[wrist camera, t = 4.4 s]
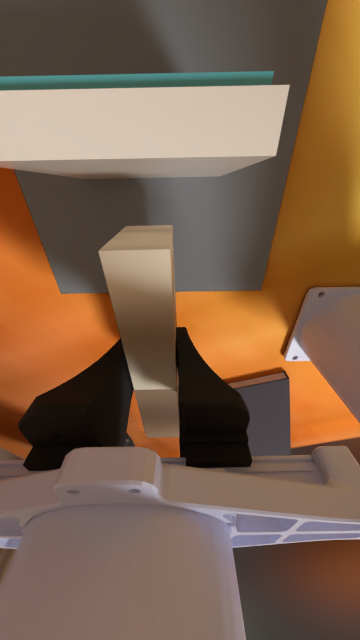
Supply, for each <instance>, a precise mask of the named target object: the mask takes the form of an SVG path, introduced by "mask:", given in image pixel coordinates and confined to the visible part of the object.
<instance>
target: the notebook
mask: <svg viewBox="0 0 360 640" xmlns="http://www.w3.org/2000/svg"><path fill="white" fill-rule="evenodd" d="M228 385H229V386H231V387H232V388H233V389H235V390H236V391H238V392H239V393H240V395H241V396H242V398H243V400H244V402H245V404H246V406H247V408H248V411H249V415H250V422H249V425H248V428H247V431H246V432H247V436H248V440H249V441H248V446H249V450H250V453H251V456H291V449H290V393H289V377H288V375H287V374H286V372H285V371H284V372H283V373H278V374H273V375H268V376H263V377H259V378H254V379H249V380H244V381H239V382H234V383H230V384H228Z"/></svg>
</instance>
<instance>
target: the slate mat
mask: <svg viewBox="0 0 360 640" xmlns="http://www.w3.org/2000/svg"><path fill="white" fill-rule="evenodd" d="M326 4H327V0H0V77H8V76H57V75H107V74H156V73H205V72H254V71H274V73H273V80H272V85H290V86H289V92H288V97H287V102H286V107H285V112H284V117H283V122H282V128H281V133H280V138H279V143H278V148H277V153H276V156H274V157H271V158H269V159H266V160H263V161H261V162H258V163H255V164H252V165H250V166H247V167H244V168H241V169H239V170H236V171H233V172H231V173H228V174H225V175H222V176H216V177H163V178H110V179H82V178H74V177H67V176H60V175H52V174H45V173H38V172H30V171H23V170H16V169H14V171H15V174H16V177H17V179H18V182H19V184H20V187H21V190H22V192H23V195H24V198H25V200H26V203H27V205H28V208H29V211H30V213H31V216H32V219H33V221H34V224H35V226H36V229H37V232H38V234H39V237H40V240H41V242H42V245H43V247H44V250H45V253H46V255H47V258H48V261H49V263H50V266H51V268H52V271H53V274H54V276H55V279H56V282H57V284H58V287H59V289H60V292H61V294H66V293H109V291H108V287H107V283H106V279H105V275H104V271H103V267H102V263H101V260H100V256H99V252H98V251H99V250H100V249H101V248H102V247H103V246H104V245H105V244H107V243H108V242H109V241H110V240H111V239H112V238H113V237H114V236H116V235H117V234H118V233H119V232H120V231H121V230H122V229H123V228H125V227H126V226H151V225H173V245H174V271H175V292H182V291H239V290H261V289H262V284H263V280H264V275H265V271H266V267H267V262H268V258H269V254H270V249H271V245H272V240H273V236H274V232H275V227H276V223H277V219H278V214H279V210H280V205H281V201H282V197H283V192H284V188H285V184H286V179H287V175H288V170H289V166H290V162H291V157H292V153H293V149H294V144H295V140H296V135H297V131H298V127H299V122H300V118H301V113H302V109H303V105H304V100H305V96H306V92H307V87H308V83H309V78H310V74H311V70H312V65H313V61H314V57H315V52H316V48H317V43H318V39H319V35H320V30H321V26H322V22H323V17H324V13H325V8H326Z"/></svg>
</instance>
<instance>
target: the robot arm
mask: <svg viewBox="0 0 360 640" xmlns="http://www.w3.org/2000/svg"><path fill="white" fill-rule="evenodd" d="M320 292H322V293H321V294H320V295H318V294H319V293H320ZM176 350H177V369H178V379H179V390H178V405H179V437H180V458H160V457H159V456H158V455H157V453H156V452H155V451H153V450H151V449H148V448H145V447H124V446H125V438H126V431H127V424H128V417H129V410H130V404H131V398H132V394H133V390H134V387H133V383H132V379H131V376H130V372H129V368H128V364H127V360H126V356H125V352H124V349H123V345H122V341H121V338H120V339H119V340H118V342H117V343H116V344H115V345H114V346H113V347H112V348H111V349H110V350H109V351H108V352H107V353H105V354H104V355H103V356H102V357H101V358H100V359H99V360H98V361H96V362H95V363H94V364H92V365H91V366H90V367H88V368H87V369H85V370H84V371H83V372H81V373H80V374H78V375H77V376H75V377H73V378H72V379H70V380H68V381H67V382H65V383H63V384H61V385H60V386H58V387H56V388H54V389H52V390H50V391H48V392H46V393H44V394H42V395H39V396H37V397H36V398H35V400H34V401H33V403H32V404H31V405H30V407H29V408H28V410H27V411H26V413H25V414H24V416H23V417H22V419H21V420H20V422H19V424H18V425H19V430H20V431H21V433H22V434H23V435H24V437H25V438H26V439H27V440H28V441H29V442H30V443H31V444H32V446H33V448H32V449H31V451H30V453H29V455H28V456H27V458H26V460H15V461H0V548H10V549H17V550H16V552H15V554H14V557H13V559H12V561H11V563H10V565H9V568H8V570H7V572H6V574H5V576H4V579H3V581H2V583H1V585H0V640H246V636H245V629H244V623H243V617H242V610H241V603H240V598H239V590H238V583H237V577H236V570H235V563H234V557H233V551H232V548H235V547H247V546H258V545H270V544H281V543H293V542H305V541H320V540H339V539H340V540H341V539H360V465H359V464H358V463H357V461H356V460H355V458H354V457H353V455H352V453H351V452H350V450H349V449H348V447H346V446H321V447H318V448H316V449H314V451H313V452H312V455H296V456H295V455H293V456H251V453H250V450H249V446H248V441H249V440H248V436H247V432H246V431H247V428H248V425H249V422H250V415H249V411H248V408H247V406H246V404H245V402H244V400H243V398H242V396H241V395H240V393H239V392H238V391H236V390H235V389H233V388H232V387H231V386H229V385H228V384H227V383H226V382H224V381H223V380H222V379H221V378H220V377H219V376H218V375H217V374H216V373H215V372H214V371H213V370H212V369H211V368H210V367H209V366H208V365H207V364H206V362H205V361H204V360H203V359H202V357H201V356H200V354H199V353H198V351H197V350H196V348H195V347H194V345H193V343H192V341H191V339H190V337H189V335H188V332H187V329H186V328H185V327H176ZM284 359H285V360H286V361H311V362H312V363H313V364H314V366H315V367H316V368H317V369H318V371H319V372H320V373H321V375H322V376H323V377H324V378H325V380H326V381H327V382H328V383H329V385H330V386H331V387H332V389H333V390H334V391H335V392H336V394H337V395H338V396H339V397H340V399H341V400H342V401H343V403H344V404H345V405H346V406H347V408H348V409H349V410H350V412H351V413H352V414H353V415H354V417H355V418H356V419H357V420H358V422H359V423H360V287H314V288H311V289H310V290H309V291H308V292H307V294H306V297H305V299H304V302H303V305H302V307H301V310H300V313H299V316H298V318H297V321H296V324H295V326H294V329H293V332H292V335H291V337H290V340H289V343H288V345H287V348H286V351H285V353H284Z"/></svg>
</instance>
